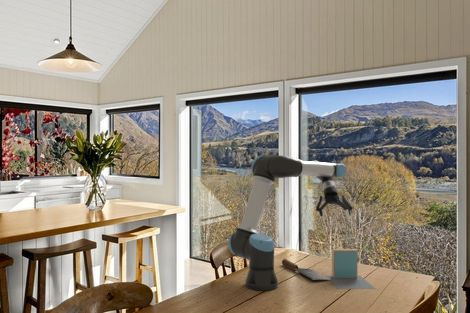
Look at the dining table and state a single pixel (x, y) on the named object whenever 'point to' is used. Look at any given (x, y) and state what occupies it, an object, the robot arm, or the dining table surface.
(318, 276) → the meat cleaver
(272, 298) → the dining table surface
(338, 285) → the mat
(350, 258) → the tile
